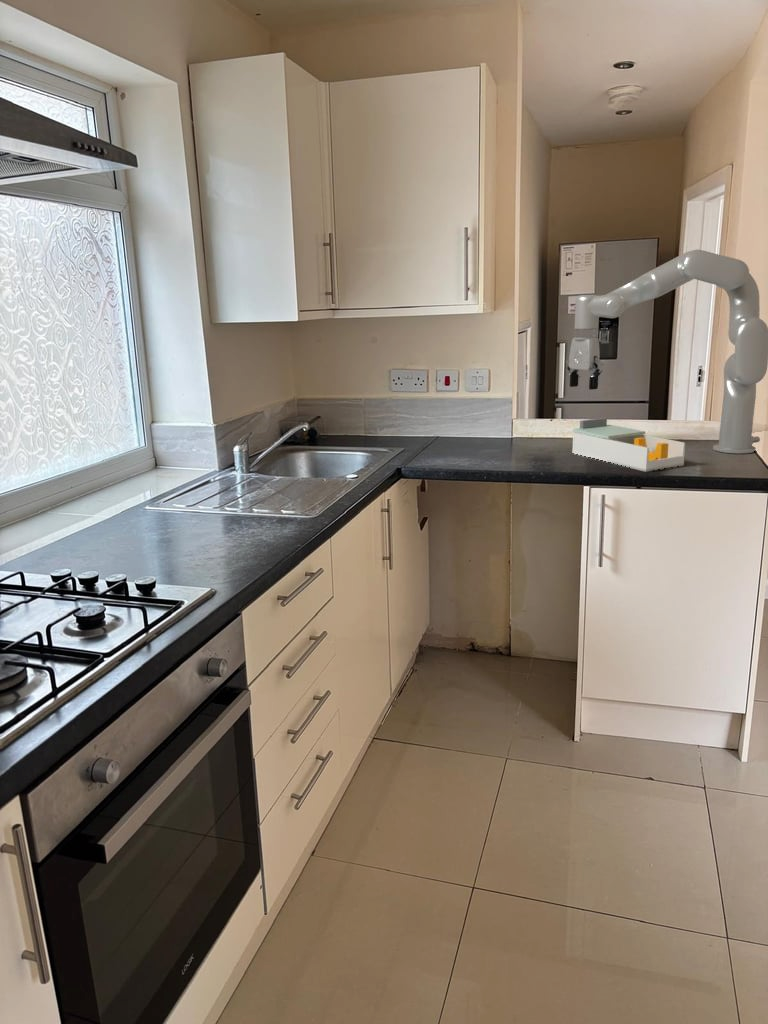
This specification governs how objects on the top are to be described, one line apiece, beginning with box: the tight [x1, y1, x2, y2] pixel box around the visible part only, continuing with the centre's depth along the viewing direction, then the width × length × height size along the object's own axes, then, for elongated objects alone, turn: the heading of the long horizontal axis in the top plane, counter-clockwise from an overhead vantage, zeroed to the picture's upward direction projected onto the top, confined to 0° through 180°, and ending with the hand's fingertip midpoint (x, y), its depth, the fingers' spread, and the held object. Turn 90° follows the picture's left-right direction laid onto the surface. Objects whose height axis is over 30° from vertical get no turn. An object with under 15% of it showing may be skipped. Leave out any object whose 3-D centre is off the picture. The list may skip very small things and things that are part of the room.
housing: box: [571, 431, 686, 473], centre depth 244 cm, size 15×32×7 cm, turn 27°
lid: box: [572, 417, 646, 439], centre depth 249 cm, size 15×16×3 cm
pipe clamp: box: [634, 438, 669, 461], centre depth 237 cm, size 12×4×6 cm, turn 22°
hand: (583, 387), depth 257 cm, fingers open, 9 cm apart
